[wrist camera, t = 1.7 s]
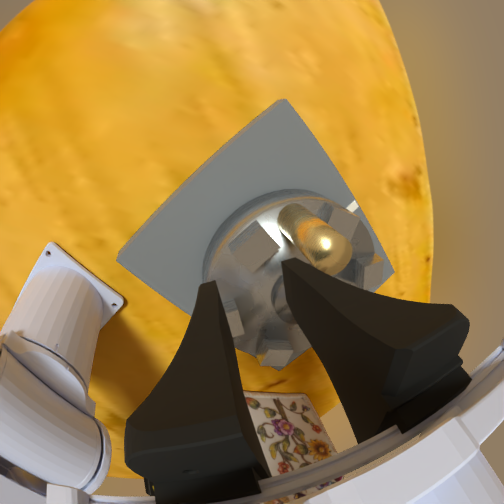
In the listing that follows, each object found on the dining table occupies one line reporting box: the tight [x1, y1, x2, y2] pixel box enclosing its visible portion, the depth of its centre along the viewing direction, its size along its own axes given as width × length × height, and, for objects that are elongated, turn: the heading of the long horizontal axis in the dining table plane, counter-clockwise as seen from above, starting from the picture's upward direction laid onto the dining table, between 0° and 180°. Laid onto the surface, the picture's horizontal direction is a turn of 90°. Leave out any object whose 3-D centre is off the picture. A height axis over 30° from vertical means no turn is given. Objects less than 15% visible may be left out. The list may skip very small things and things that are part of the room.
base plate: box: [116, 99, 394, 371], centre depth 23 cm, size 16×20×2 cm
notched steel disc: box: [202, 189, 384, 366], centre depth 19 cm, size 13×13×8 cm
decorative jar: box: [243, 391, 344, 504], centre depth 26 cm, size 12×12×18 cm
